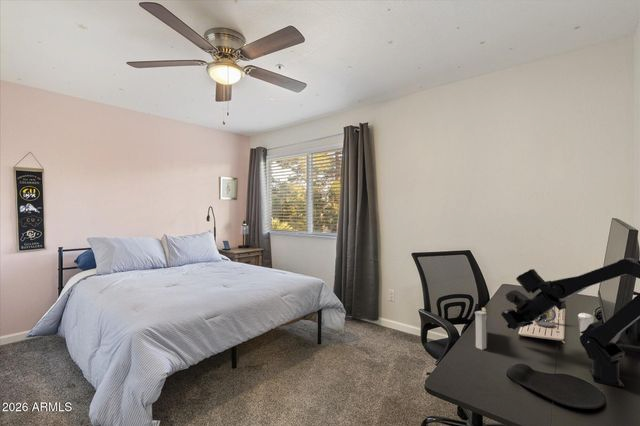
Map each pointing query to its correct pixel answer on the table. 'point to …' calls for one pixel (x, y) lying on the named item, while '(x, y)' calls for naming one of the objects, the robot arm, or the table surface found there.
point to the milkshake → (585, 321)
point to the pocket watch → (547, 319)
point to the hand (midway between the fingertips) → (508, 327)
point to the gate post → (480, 329)
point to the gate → (486, 323)
